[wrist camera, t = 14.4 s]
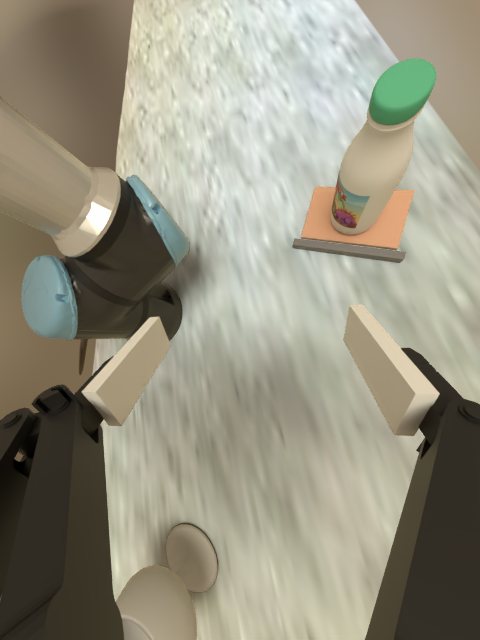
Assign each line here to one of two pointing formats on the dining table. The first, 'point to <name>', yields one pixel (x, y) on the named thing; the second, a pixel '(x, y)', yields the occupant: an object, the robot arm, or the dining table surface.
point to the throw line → (350, 250)
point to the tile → (379, 235)
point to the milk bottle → (381, 146)
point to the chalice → (169, 589)
